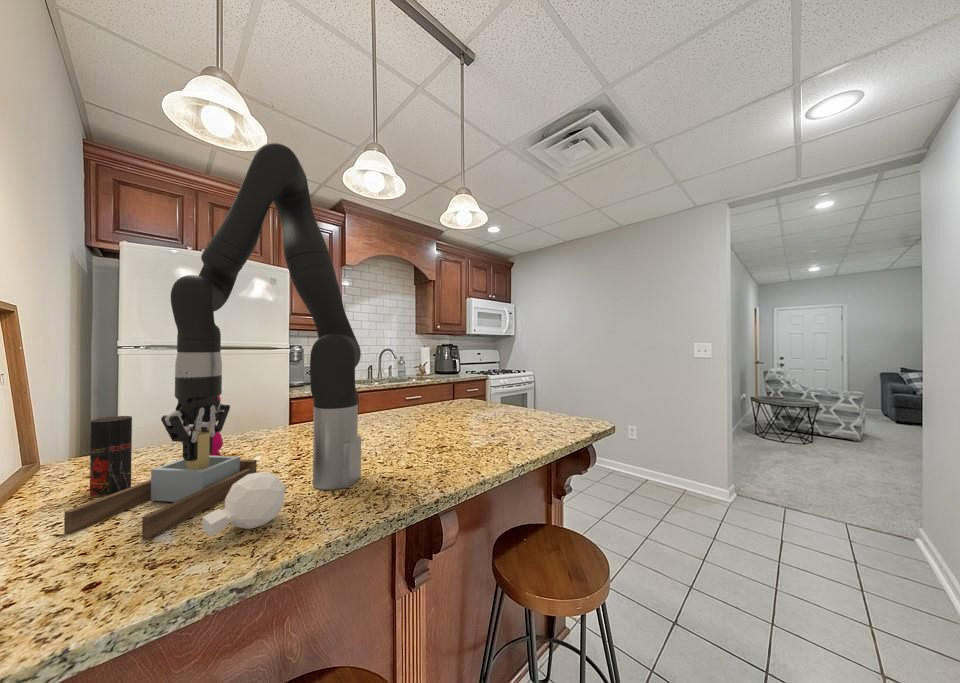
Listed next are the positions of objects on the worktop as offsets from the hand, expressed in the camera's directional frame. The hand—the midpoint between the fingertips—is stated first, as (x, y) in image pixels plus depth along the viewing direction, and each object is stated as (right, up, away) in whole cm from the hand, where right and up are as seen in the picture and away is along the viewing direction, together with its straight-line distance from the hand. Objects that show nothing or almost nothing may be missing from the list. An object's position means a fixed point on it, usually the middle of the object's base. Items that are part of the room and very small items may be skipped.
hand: (198, 457), depth 71 cm
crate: (0, -7, 0) cm, 7 cm away
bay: (-1, -7, -5) cm, 9 cm away
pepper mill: (-13, -8, +18) cm, 24 cm away
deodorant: (-19, -8, +1) cm, 20 cm away
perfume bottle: (+19, -8, -13) cm, 24 cm away
